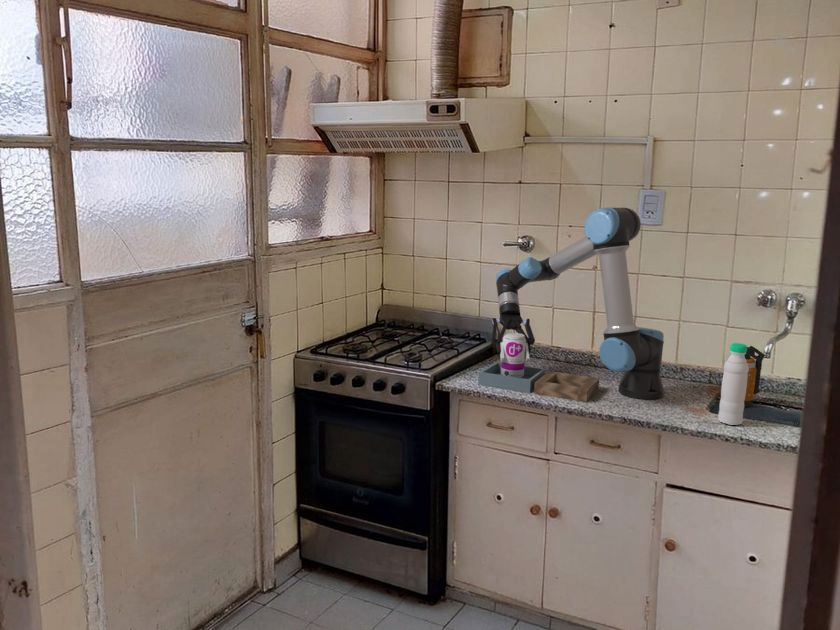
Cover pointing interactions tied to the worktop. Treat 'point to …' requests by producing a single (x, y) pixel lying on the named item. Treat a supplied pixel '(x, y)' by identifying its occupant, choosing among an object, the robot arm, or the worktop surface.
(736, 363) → the white plastic bottle
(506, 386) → the tray
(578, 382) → the can holder
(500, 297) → the robot arm
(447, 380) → the worktop surface
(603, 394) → the worktop surface
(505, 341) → the white soda can
